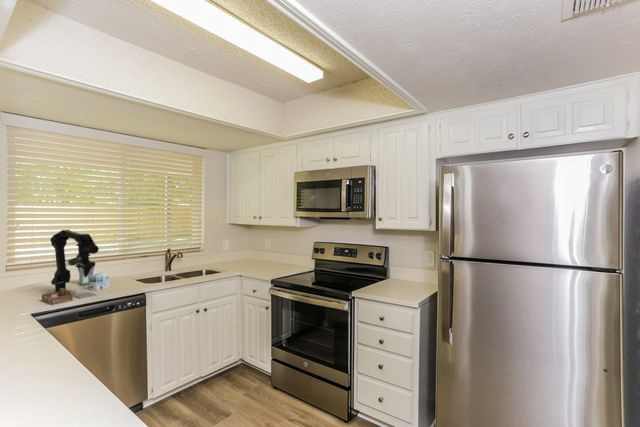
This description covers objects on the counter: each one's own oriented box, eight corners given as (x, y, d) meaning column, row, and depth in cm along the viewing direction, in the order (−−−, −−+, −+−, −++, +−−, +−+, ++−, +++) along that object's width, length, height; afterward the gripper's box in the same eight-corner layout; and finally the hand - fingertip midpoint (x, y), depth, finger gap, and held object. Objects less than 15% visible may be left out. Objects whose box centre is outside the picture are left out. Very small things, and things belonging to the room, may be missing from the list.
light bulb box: (96, 290, 231) (96, 275, 231) (89, 290, 232) (88, 275, 232) (109, 287, 241) (109, 272, 241) (101, 286, 243) (101, 272, 243)
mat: (71, 295, 216) (71, 295, 216) (88, 292, 225) (88, 292, 225) (79, 298, 210) (79, 297, 210) (97, 295, 218) (97, 294, 218)
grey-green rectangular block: (79, 282, 217) (79, 267, 217) (84, 281, 220) (84, 266, 219) (83, 283, 214) (82, 268, 214) (88, 282, 217) (88, 267, 217)
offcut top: (51, 298, 205) (51, 294, 205) (57, 297, 207) (57, 294, 207) (51, 300, 199) (51, 297, 199) (57, 299, 201) (57, 296, 201)
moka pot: (91, 285, 245) (91, 259, 245) (71, 285, 245) (71, 259, 245) (100, 283, 254) (100, 257, 254) (80, 282, 255) (80, 257, 254)
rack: (41, 300, 204) (41, 291, 204) (61, 297, 213) (61, 288, 213) (52, 304, 196) (52, 294, 196) (72, 300, 205) (72, 291, 205)
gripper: (63, 253, 215) (63, 276, 215) (75, 255, 205) (75, 280, 205) (82, 251, 224) (82, 274, 224) (95, 253, 214) (95, 277, 214)
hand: (83, 276), depth 217 cm, fingers closed on grey-green rectangular block, 5 cm apart
